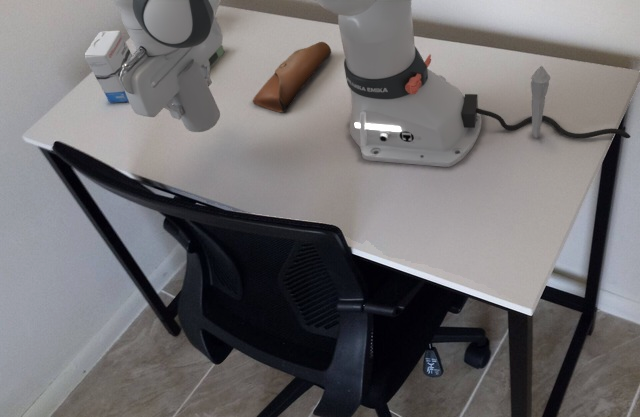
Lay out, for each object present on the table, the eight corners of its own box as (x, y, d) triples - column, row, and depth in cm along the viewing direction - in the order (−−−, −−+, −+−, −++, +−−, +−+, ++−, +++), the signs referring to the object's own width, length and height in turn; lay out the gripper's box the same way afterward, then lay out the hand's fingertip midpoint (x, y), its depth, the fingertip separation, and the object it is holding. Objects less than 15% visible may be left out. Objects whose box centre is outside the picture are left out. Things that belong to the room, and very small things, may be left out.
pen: (535, 128, 106) (540, 58, 95) (548, 136, 104) (555, 65, 94) (524, 136, 105) (528, 66, 95) (537, 144, 103) (542, 74, 93)
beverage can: (215, 134, 107) (188, 77, 98) (180, 135, 109) (151, 79, 100) (226, 108, 111) (201, 51, 102) (192, 110, 113) (165, 54, 104)
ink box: (130, 102, 132) (105, 54, 124) (108, 103, 133) (82, 56, 125) (143, 75, 138) (120, 28, 129) (122, 77, 139) (98, 30, 130)
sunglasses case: (296, 47, 132) (304, 26, 127) (325, 66, 132) (334, 45, 127) (249, 103, 123) (256, 83, 118) (280, 124, 123) (288, 104, 118)
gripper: (131, 75, 90) (170, 146, 100) (213, -7, 100) (241, 65, 110) (99, 69, 93) (140, 139, 103) (182, -11, 103) (212, 60, 113)
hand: (193, 100), depth 107 cm, fingers closed on beverage can, 6 cm apart
